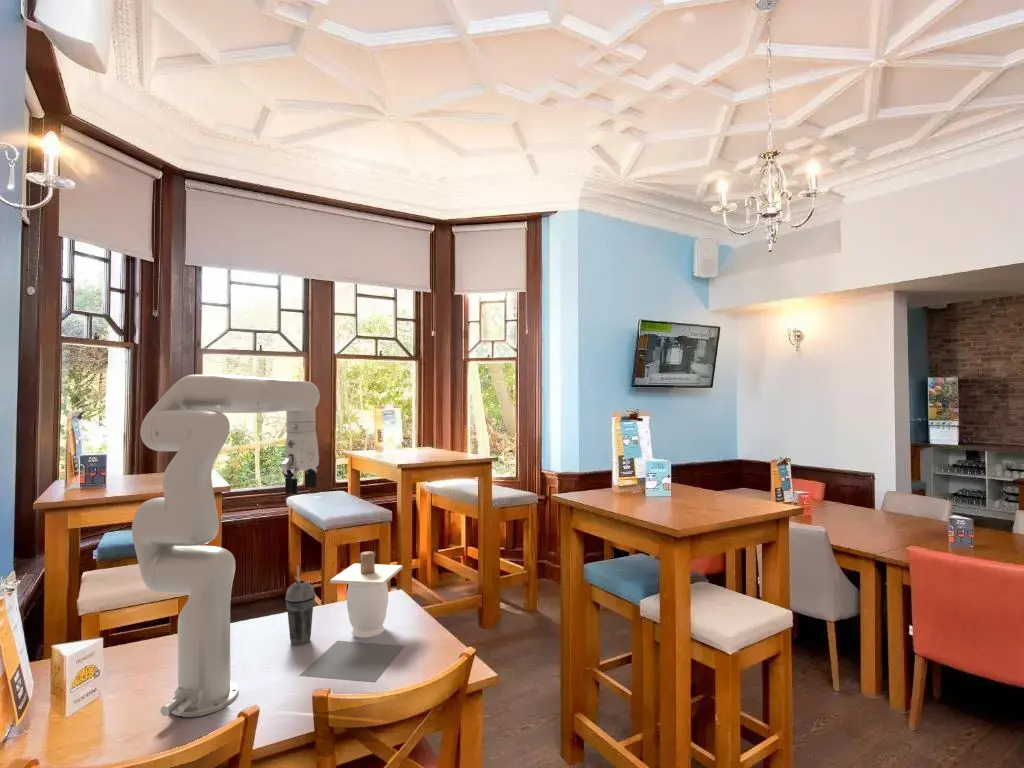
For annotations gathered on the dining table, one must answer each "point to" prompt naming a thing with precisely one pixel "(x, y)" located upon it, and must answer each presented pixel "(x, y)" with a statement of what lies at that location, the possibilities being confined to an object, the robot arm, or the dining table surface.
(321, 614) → the dining table surface
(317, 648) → the dining table surface
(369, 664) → the mat
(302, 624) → the beverage cup
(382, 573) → the lid
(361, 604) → the jar
